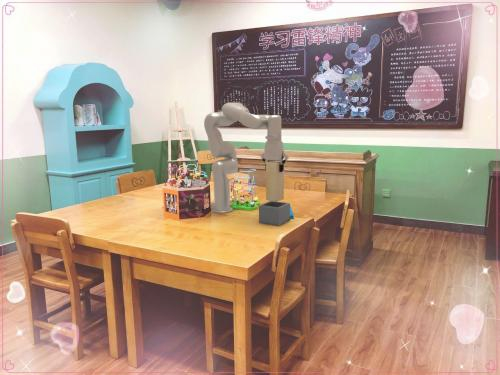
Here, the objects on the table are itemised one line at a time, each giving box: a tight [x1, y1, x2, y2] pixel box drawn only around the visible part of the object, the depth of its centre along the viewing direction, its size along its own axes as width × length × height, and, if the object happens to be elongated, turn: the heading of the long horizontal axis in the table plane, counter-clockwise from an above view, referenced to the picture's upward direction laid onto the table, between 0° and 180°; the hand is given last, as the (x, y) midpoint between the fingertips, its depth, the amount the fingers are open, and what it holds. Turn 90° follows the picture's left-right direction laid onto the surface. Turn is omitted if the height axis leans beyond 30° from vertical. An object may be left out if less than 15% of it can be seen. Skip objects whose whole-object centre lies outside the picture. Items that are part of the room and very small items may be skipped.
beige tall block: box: [265, 160, 285, 202], centre depth 226 cm, size 8×7×21 cm
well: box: [258, 200, 291, 227], centre depth 229 cm, size 12×13×10 cm
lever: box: [290, 205, 295, 220], centre depth 245 cm, size 7×7×18 cm
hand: (274, 171), depth 225 cm, fingers closed on beige tall block, 7 cm apart
